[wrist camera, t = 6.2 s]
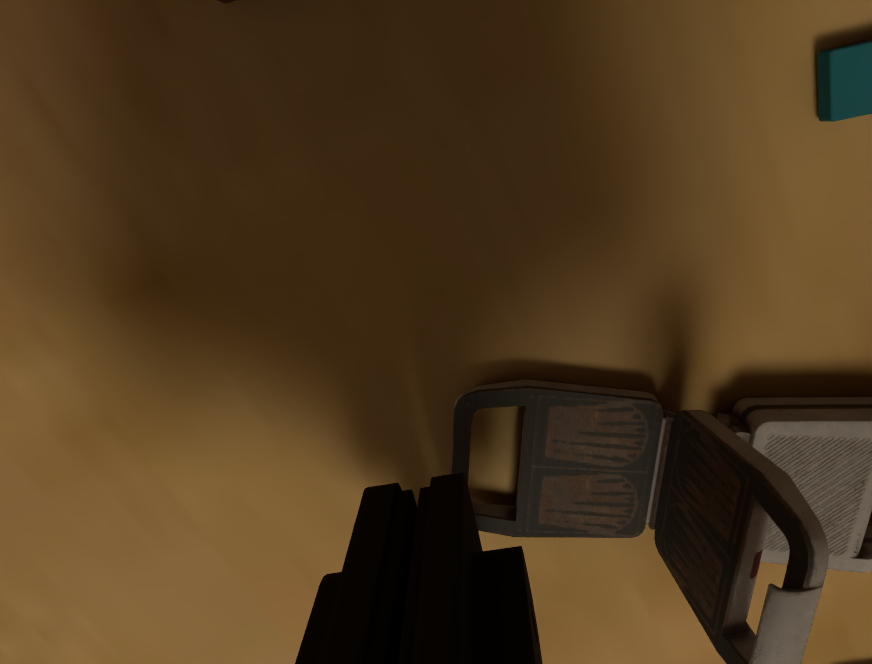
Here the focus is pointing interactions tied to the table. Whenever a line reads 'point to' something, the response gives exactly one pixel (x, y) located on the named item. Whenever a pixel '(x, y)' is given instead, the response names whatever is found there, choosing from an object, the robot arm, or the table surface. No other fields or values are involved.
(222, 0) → the peg rack
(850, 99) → the bay
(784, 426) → the strap clip
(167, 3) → the table surface
